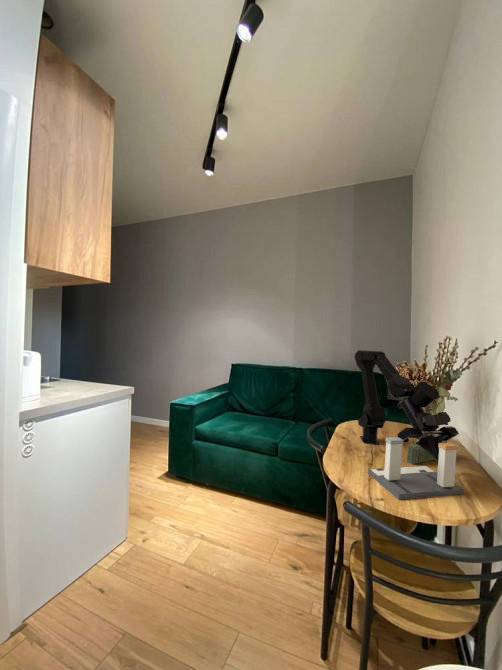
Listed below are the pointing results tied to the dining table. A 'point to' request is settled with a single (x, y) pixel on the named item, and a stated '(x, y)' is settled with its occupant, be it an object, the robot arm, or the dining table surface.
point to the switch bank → (414, 483)
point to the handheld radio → (418, 454)
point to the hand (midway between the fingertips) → (442, 462)
